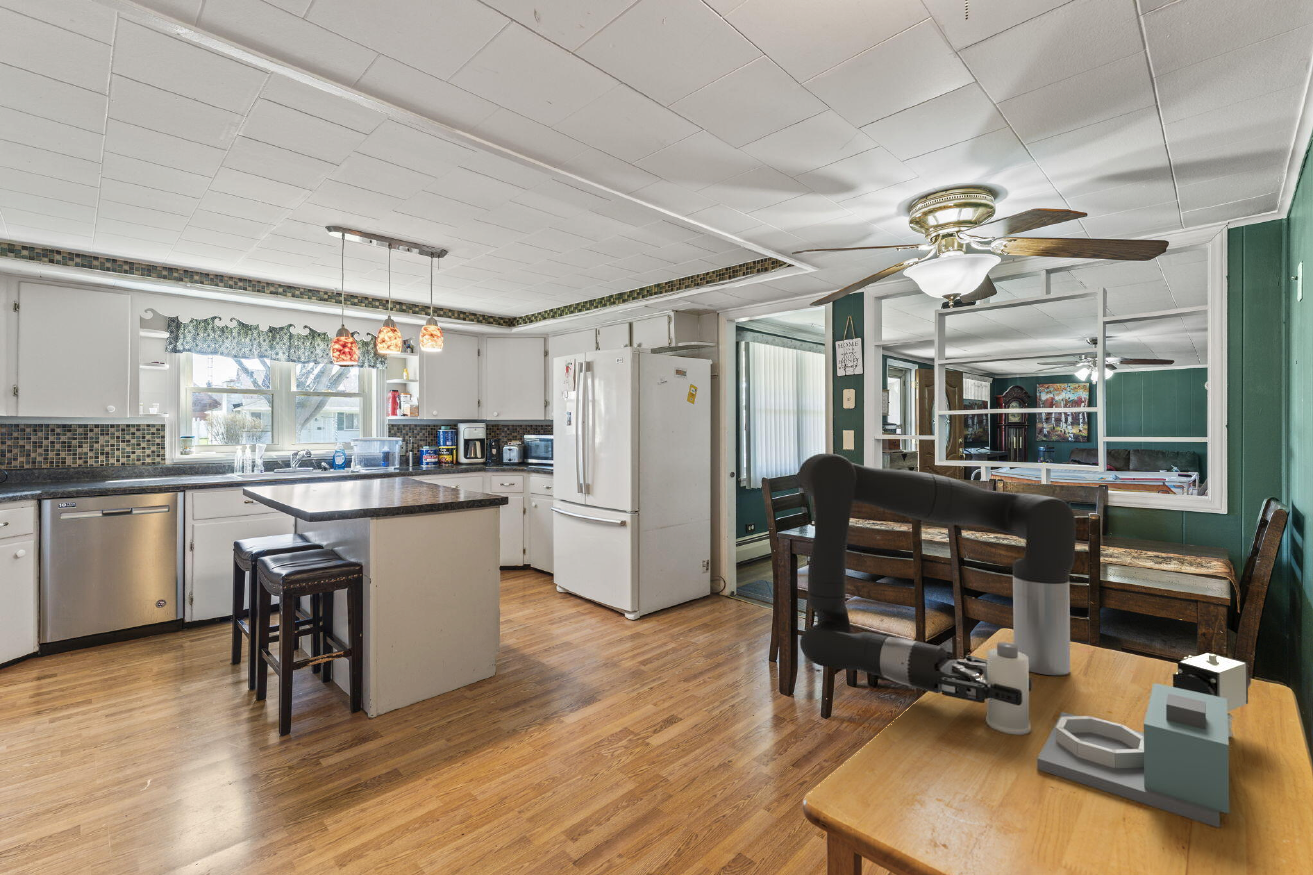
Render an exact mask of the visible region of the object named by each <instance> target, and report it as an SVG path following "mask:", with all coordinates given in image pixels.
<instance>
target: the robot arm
mask: <svg viewBox="0 0 1313 875" xmlns="http://www.w3.org/2000/svg"><path fill="white" fill-rule="evenodd" d="M798 481H799V484H800V486H801V488H802V489H803V490H804V492H805V493H806V494H807V495H809V496H810V497H812V498H813V503H814V509H815V510H814V511H815V530H814V536H813V542H812V546H811V550H810V553H809V554H810V555H809V558H808V559H809V560H808V569H807V601H808V602H807V604H808V605H809V607H810V608H811V609H812V610H814V611H816V618H817V624H815V625H812V626H809V627H808V628H807V629H805V630H804V631H803V632H802V634H801V637H800V639H799V640H800V641H799V644H800V645H799V646H800V649H801V652H802V653H803V655H804V656H805V657H806V659H808V660H809V661H810V662H812V663H813V664H816V665H818V666H820V667H825V668H831V669H839V670H840V669H841V670H847V671H848V670H849V671H852V670H853V671H861V672H864V673H868V674H872V675H874V676H879V677H882V678H884V679H889V680H891V681H893V682H895V683H898V684H902V685H905V686H908V687H912V688H917V689H920V690H923V691H928V692H931V693H934V694H939V693H941V695H942V696H946V697H951V698H954V699H960V700H964V701H971V702H974V703H979V704H985V703H986V701H987V700H993V698H994V699H995V700H999V701H1003V702H1007V703H1011V704H1014V705H1021V703H1022V691H1021V690H1019V689H1016V688H1012V687H1007V686H1003V685H999V684H995V683H994V685H993V683H991V682H989V681H987V659H984V658H980V657H977V656H973V655H970V654H968V655H965V659H962V658H958V659H951V658H950V657H949V655H948V651H947V650H946V649H945V648H944V647H943V646H939V645H935V644H930V643H926V642H922V641H917V640H912V639H909V638H902V637H894V636H888V635H882V634H878V633H875V632H874V633H873V632H867V631H866V632H865V631H862V632H857V633H852V629H851V622H850V618H849V612H848V610H847V609H848V608H847V605H846V596H847V595H846V594H847V589H846V588H847V581H846V580H847V548H848V535H849V528H850V522H851V521H850V520H851V512H852V507H853V502H854V503H855V502H856V503H858V504H859V503H860V504H865V505H869V506H873V507H876V508H878V509H881V510H884V511H888V512H890V513H894V514H896V515H901V516H904V517H907V518H911V519H915V520H918V521H919V520H921V521H926V522H931V523H936V524H943V525H954V526H966V525H967V526H980V527H985V528H987V529H988V528H989V529H992V530H996V531H1000V532H1002V533H1006V534H1009V535H1011V536H1014V537H1017V538H1018V539H1022V540H1025V552H1024V555H1023V556H1022V558H1018V559H1015V561H1013V564H1012V600H1013V601H1012V602H1013V603H1012V605H1013V608H1012V612H1013V616H1012V617H1013V626H1012V627H1013V644H1014V645H1016V646H1018V652H1020V653H1023V654H1025V655H1026V656H1028V661H1029V672H1031V673H1035V674H1041V675H1046V676H1047V675H1048V676H1065V675H1069V674H1070V672H1071V621H1070V620H1071V615H1070V614H1071V612H1070V607H1071V606H1070V605H1071V604H1070V603H1071V602H1070V599H1071V598H1070V575H1071V574H1070V573H1071V571H1072V569H1073V567H1074V564H1075V557H1076V538H1077V537H1076V536H1077V523H1076V517H1075V514H1074V511H1073V509H1072V508H1071V506H1070V505H1069V503H1067V501H1065V500H1062V499H1061V498H1057V497H1054V496H1047V495H1042V494H1035V493H1018V492H1017V493H1016V492H1015V493H1014V492H1006V491H1005V492H1004V491H998V490H997V491H996V490H989V489H984V488H981V487H978V486H976V485H973V484H971V483H967V482H965V481H963V480H959V479H955V478H953V477H948V476H944V475H939V474H934V473H929V472H922V471H916V470H915V471H914V470H908V469H907V470H905V469H893V468H892V469H891V468H878V467H870V466H866V465H861V464H859V463H854V462H851V461H850V460H849V459H848V458H846V457H845V456H843V455H840V454H836V453H817V454H815V455H812V456H810V457H808V458H807V459H806V460H805V461H804V462H803V463H802V464H801V465H800V467H799V470H798ZM1032 681H1033V680H1032V678H1031V677H1030V676H1029V693H1030V692H1031V691H1032V689H1033V688H1032V687H1033V686H1032V684H1033V682H1032Z"/></svg>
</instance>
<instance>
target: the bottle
mask: <svg viewBox="0 0 1313 875" xmlns="http://www.w3.org/2000/svg"><path fill="white" fill-rule="evenodd" d="M986 660H987V681H989V682H991V683H993V685H994V683H995V684H999V685H1003V686H1007V687H1012V688H1016V689H1019V690H1021V691H1022V703H1021V705H1014V704H1011V703H1007V702H1003V701H999V700H995V699H994V698H993V700H986V703H987V710H986V711H987V712H986V716H985V722H986V724H987V725H988V726H989V727H990V728H992V729H993V730H995V731H997V732H1000V733H1005V734H1008V735H1016V736H1023V735H1024V736H1025V735H1028V734H1030V733H1031V730H1032V728H1031V722H1030V692H1029V677H1030V676H1029V674H1030V673H1029V672H1030V671H1029V661H1028V656H1026V655H1025V654H1023V653H1020V652H1018V646H1016V645H1014V643H1011V642H1005V641H1003V642H1001V641H999V642H997V643H996V648H991V649H990V648H989V649H988V650H987V651H986Z"/></svg>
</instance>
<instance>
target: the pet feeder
mask: <svg viewBox="0 0 1313 875" xmlns="http://www.w3.org/2000/svg"><path fill="white" fill-rule="evenodd" d="M1149 697H1150V698H1149V700H1148V705H1147V708H1146V713H1145V716H1144V720H1143V732H1141V731H1137V730H1134V729H1131V728H1129V727H1128V726H1126V725H1124V724H1120V723H1117V722H1113V721H1109V720H1105V719H1103V718H1098V717H1095V716H1089V715H1083V716H1082V715H1080V716H1079V715H1076V714H1071V713H1069V712H1064V711H1061V712H1060V715H1059V717H1058V719H1057V721H1056V722H1055V725H1054V727H1053V728H1052V730H1051V732H1050V734H1049V736H1048V738H1047V739H1046V741H1045V743H1044V745H1043V747H1042V749H1041V751H1040V752H1039V754H1038V757H1037V758H1036V759H1037V760H1036V761H1037V762H1036V763H1037V764H1036V766H1037V770H1039V771H1041V772H1045V773H1048V774H1052V775H1053V776H1056V777H1060V778H1064V779H1066V780H1068V781H1073V782H1075V783H1078V784H1082V785H1085V786H1088V787H1092V788H1095V789H1096V790H1097V789H1098V790H1099V791H1103V792H1107V793H1109V794H1113V795H1116V796H1120V797H1122V798H1125V799H1128V800H1132V801H1134V802H1137V803H1140V804H1144V805H1147V806H1150V807H1153V808H1156V809H1159V810H1163V811H1166V812H1168V813H1171V814H1175V815H1178V816H1182V817H1184V818H1188V819H1191V820H1193V821H1196V822H1199V823H1203V824H1206V825H1209V826H1213V827H1216V828H1218V829H1220V828H1221V824H1220V823H1221V819H1220V818H1221V816H1220V815H1221V812H1222V813H1225V814H1228V815H1230V771H1229V770H1230V765H1229V764H1230V763H1229V762H1230V761H1229V760H1230V755H1229V754H1230V750H1229V749H1230V748H1229V744H1230V743H1229V738H1228V717H1227V713H1228V712H1227V698H1222V697H1217V696H1213V695H1208V694H1203V693H1198V692H1194V691H1189V690H1184V689H1180V688H1175V687H1173V686H1170V685H1165V684H1159V683H1156V682H1154V683H1153V684H1152V688H1151V692H1150V696H1149Z"/></svg>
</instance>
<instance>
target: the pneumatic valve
mask: <svg viewBox="0 0 1313 875" xmlns="http://www.w3.org/2000/svg"><path fill="white" fill-rule="evenodd" d="M1251 684H1252V679H1251V676H1250V673H1249V663H1248V662H1247V661H1243V660H1239V659H1236V658H1231V657H1228V656H1224V655H1220V654H1215V653H1212V652H1206V653H1204V654H1200V655H1197V656H1193V655H1188V656H1184V657H1183V658H1182V660H1181V661H1178V662H1177V672H1176V673H1173V674H1172V687H1175V688H1180V689H1184V690H1189V691H1194V692H1198V693H1203V694H1208V695H1213V696H1217V697H1222V698H1227V717H1228V739H1229V738H1231V737H1234V732H1233V731H1232V728H1233V722H1232V720H1234V716H1233V714H1231V713H1230V712H1231V711H1233V710H1236V709H1238V708H1241V707H1244V706H1246V705H1248V704H1249V688H1250V687H1251Z"/></svg>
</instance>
